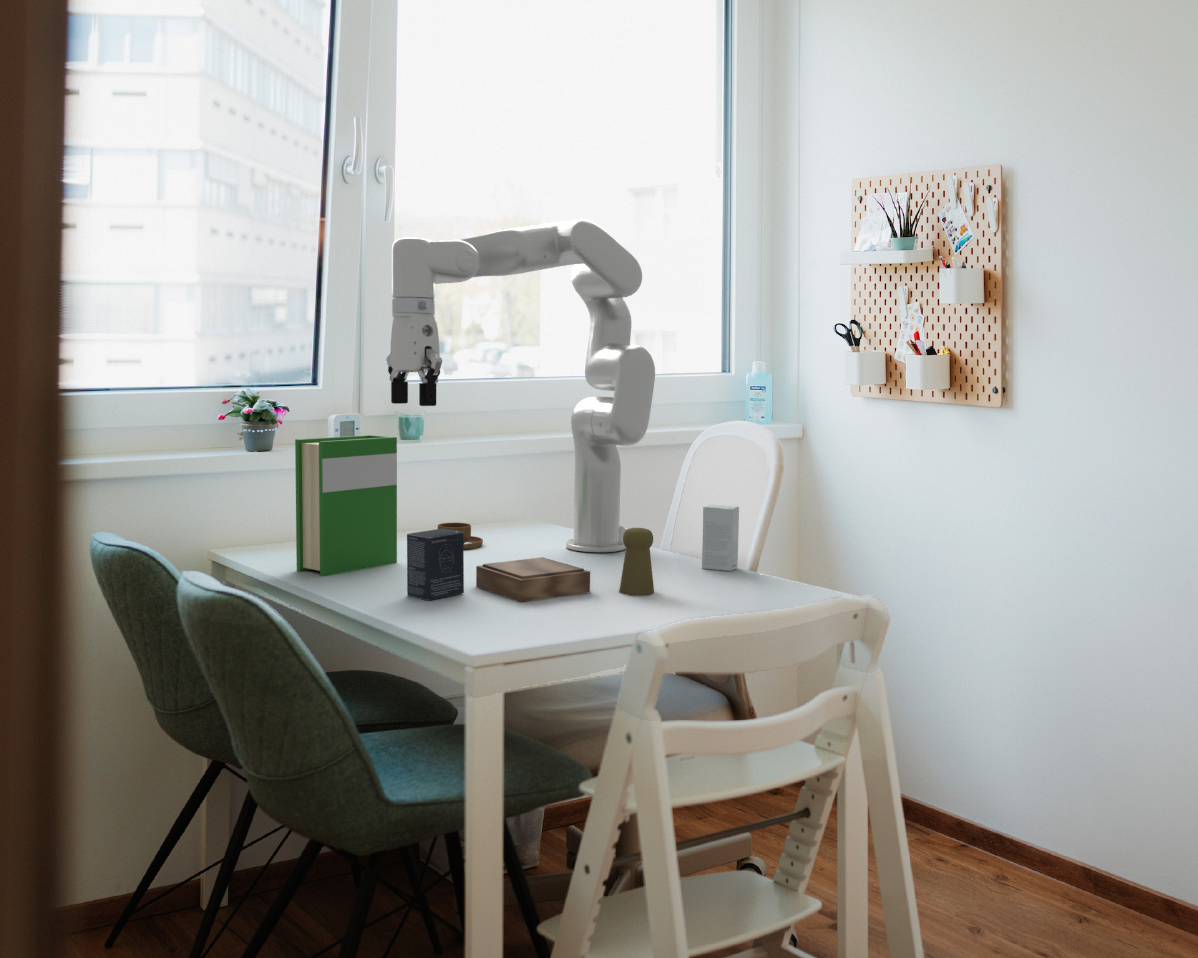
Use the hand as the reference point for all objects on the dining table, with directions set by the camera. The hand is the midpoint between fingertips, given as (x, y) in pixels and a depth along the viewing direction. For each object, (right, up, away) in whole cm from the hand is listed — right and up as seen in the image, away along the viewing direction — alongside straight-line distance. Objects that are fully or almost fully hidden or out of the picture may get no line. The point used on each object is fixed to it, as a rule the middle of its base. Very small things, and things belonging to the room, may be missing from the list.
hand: (413, 404), depth 196 cm
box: (+6, -33, -16) cm, 37 cm away
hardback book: (-13, -30, +6) cm, 33 cm away
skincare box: (+57, -31, +12) cm, 66 cm away
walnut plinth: (+22, -32, -10) cm, 41 cm away
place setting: (-1, -28, +31) cm, 42 cm away
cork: (+40, -33, -11) cm, 53 cm away
